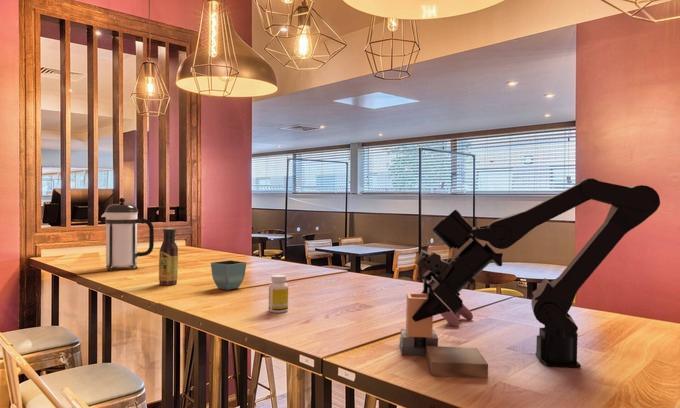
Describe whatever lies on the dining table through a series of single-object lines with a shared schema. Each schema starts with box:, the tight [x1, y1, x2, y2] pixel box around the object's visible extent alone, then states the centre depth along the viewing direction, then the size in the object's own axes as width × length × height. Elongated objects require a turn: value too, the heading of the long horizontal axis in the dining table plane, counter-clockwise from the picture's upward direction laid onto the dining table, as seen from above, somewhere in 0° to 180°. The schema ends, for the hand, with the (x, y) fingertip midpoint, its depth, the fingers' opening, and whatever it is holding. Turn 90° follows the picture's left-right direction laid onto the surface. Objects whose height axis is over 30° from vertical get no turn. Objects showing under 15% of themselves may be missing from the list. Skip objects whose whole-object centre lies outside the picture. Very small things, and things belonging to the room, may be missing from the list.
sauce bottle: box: [158, 227, 179, 286], centre depth 165 cm, size 7×6×20 cm
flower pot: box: [210, 259, 247, 291], centre depth 160 cm, size 9×9×9 cm
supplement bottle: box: [268, 274, 289, 314], centre depth 130 cm, size 5×5×10 cm
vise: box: [399, 328, 439, 357], centre depth 99 cm, size 8×7×8 cm
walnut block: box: [425, 345, 489, 379], centre depth 89 cm, size 10×9×2 cm
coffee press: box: [101, 197, 155, 272], centre depth 198 cm, size 17×16×30 cm
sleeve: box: [405, 292, 434, 337], centre depth 98 cm, size 5×5×8 cm
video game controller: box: [440, 303, 474, 328], centre depth 121 cm, size 10×5×7 cm, turn 141°
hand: (412, 316), depth 99 cm, fingers closed on sleeve, 5 cm apart
